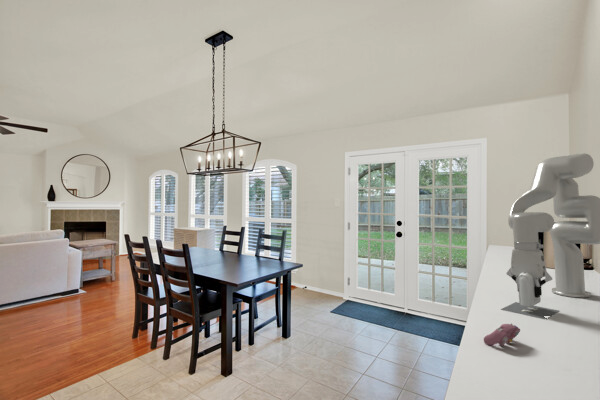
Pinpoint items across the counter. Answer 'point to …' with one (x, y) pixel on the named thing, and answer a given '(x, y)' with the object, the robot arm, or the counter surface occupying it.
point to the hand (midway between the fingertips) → (529, 294)
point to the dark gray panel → (530, 310)
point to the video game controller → (502, 335)
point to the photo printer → (527, 290)
